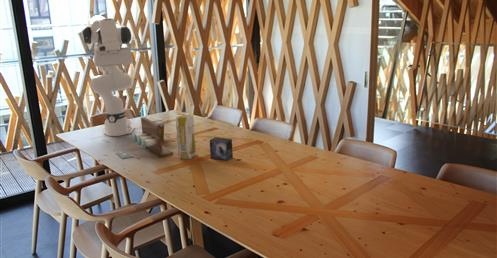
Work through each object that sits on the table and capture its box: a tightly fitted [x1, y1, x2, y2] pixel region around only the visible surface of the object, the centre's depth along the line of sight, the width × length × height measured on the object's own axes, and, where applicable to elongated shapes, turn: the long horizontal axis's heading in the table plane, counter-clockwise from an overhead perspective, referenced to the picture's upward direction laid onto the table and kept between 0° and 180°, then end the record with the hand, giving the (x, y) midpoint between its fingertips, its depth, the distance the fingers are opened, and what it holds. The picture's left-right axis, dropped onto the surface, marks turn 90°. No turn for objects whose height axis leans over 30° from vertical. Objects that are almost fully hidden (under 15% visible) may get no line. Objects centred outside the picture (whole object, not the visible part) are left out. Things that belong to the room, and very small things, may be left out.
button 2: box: [141, 138, 157, 149], centre depth 227 cm, size 8×4×4 cm, turn 124°
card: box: [115, 150, 134, 160], centre depth 233 cm, size 6×12×1 cm, turn 34°
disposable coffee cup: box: [152, 119, 166, 142], centre depth 256 cm, size 10×10×12 cm
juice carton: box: [175, 112, 196, 160], centre depth 224 cm, size 9×8×24 cm
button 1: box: [132, 133, 147, 143], centre depth 238 cm, size 8×4×4 cm, turn 124°
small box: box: [209, 136, 234, 162], centre depth 222 cm, size 11×6×10 cm, turn 62°
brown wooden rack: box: [140, 116, 174, 159], centre depth 236 cm, size 8×23×18 cm, turn 34°
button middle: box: [136, 136, 152, 146], centre depth 232 cm, size 8×4×4 cm, turn 124°
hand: (115, 73), depth 230 cm, fingers open, 8 cm apart
